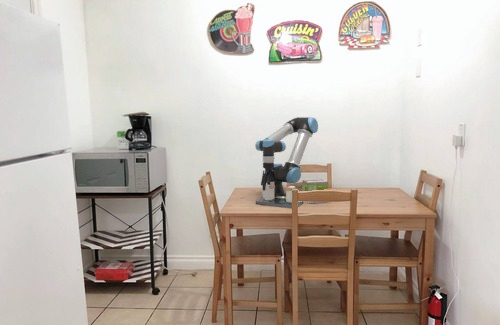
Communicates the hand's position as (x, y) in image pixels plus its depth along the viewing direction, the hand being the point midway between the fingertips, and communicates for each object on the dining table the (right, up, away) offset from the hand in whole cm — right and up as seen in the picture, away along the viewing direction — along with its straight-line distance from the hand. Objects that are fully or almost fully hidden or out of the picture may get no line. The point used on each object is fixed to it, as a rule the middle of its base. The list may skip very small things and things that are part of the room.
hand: (268, 193), depth 239 cm
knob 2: (+14, -5, -6) cm, 17 cm away
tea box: (+32, -6, +3) cm, 33 cm away
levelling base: (+7, -7, -3) cm, 10 cm away
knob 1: (0, -5, +1) cm, 5 cm away
